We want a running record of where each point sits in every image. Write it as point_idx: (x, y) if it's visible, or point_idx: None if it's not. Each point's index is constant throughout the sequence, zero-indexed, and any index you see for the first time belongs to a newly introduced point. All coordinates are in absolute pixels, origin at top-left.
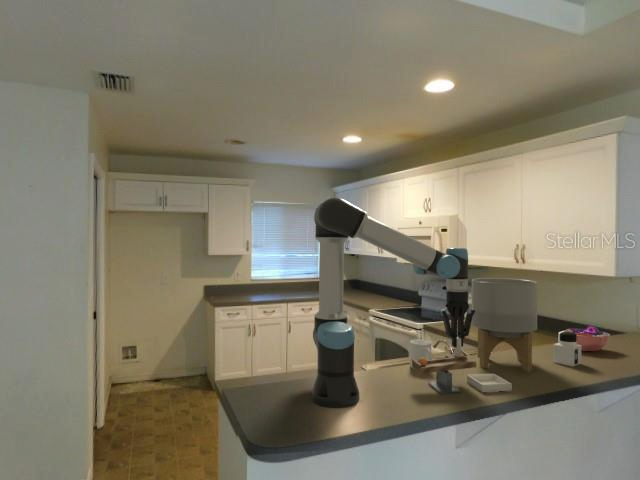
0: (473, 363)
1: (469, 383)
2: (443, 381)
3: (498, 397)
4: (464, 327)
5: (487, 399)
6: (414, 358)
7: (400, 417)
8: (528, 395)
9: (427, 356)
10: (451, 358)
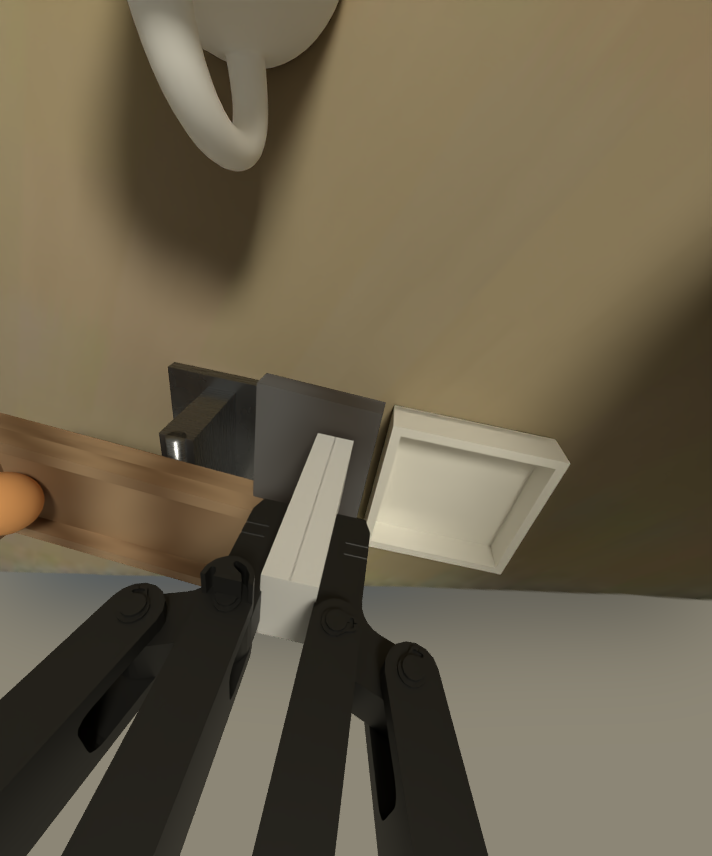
0: None
1: (387, 432)
2: None
3: (388, 562)
4: (396, 823)
5: None
6: None
7: (15, 552)
8: (512, 586)
9: (223, 19)
10: (228, 514)
